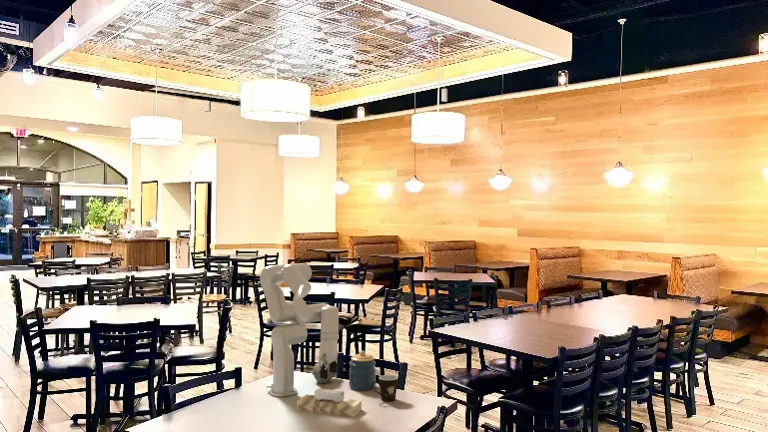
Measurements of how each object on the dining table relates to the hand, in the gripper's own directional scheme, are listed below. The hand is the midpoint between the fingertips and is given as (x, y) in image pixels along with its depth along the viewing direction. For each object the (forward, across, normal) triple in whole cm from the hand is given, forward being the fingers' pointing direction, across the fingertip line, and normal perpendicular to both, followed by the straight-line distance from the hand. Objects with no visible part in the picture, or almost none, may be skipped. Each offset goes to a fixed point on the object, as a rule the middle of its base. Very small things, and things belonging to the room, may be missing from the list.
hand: (328, 375), depth 249 cm
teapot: (+16, -38, -19) cm, 46 cm away
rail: (+15, 0, +1) cm, 15 cm away
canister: (+15, -35, +2) cm, 39 cm away
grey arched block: (+15, 0, +1) cm, 15 cm away
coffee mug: (+15, -21, +19) cm, 32 cm away
